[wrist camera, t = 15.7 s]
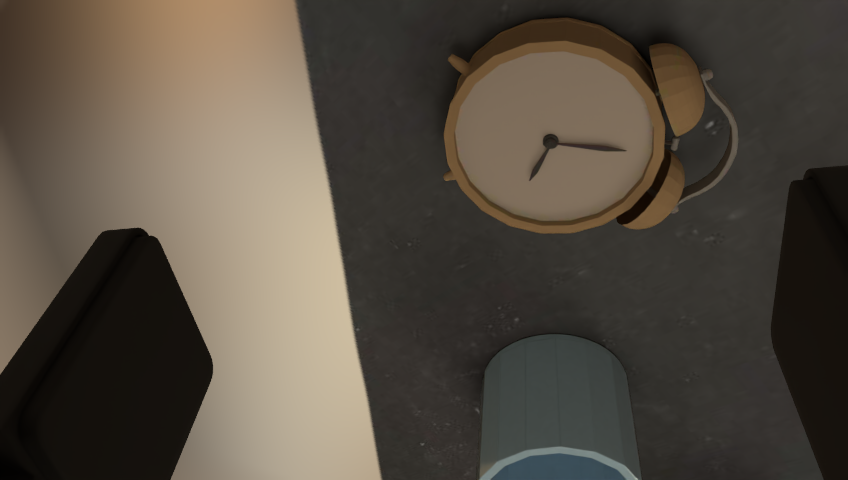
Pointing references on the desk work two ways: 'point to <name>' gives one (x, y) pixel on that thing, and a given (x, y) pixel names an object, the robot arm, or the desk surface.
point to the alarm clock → (575, 128)
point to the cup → (556, 413)
